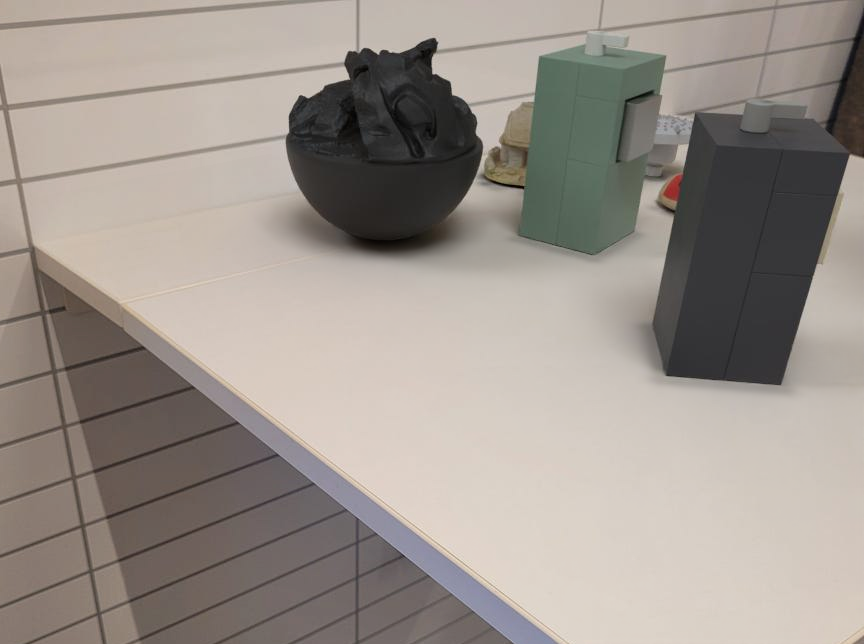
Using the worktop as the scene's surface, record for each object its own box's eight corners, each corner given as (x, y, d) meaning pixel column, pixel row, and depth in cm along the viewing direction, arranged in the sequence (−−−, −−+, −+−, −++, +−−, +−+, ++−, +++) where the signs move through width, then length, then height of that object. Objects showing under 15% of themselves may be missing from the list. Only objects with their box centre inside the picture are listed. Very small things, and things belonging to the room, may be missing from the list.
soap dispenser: (634, 230, 104) (670, 33, 93) (594, 255, 97) (627, 45, 86) (562, 213, 109) (588, 22, 97) (518, 235, 102) (541, 33, 91)
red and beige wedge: (680, 194, 116) (686, 165, 114) (746, 217, 109) (754, 186, 107) (642, 203, 112) (648, 173, 110) (709, 227, 106) (716, 196, 104)
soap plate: (652, 150, 97) (662, 94, 94) (627, 162, 93) (637, 104, 90) (640, 147, 98) (649, 92, 95) (614, 159, 94) (623, 102, 91)
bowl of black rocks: (328, 281, 90) (328, 69, 79) (263, 216, 105) (255, 31, 94) (510, 255, 97) (531, 58, 86) (424, 198, 112) (433, 24, 101)
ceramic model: (596, 173, 122) (609, 92, 117) (593, 199, 113) (606, 112, 108) (489, 163, 125) (496, 83, 119) (477, 188, 116) (484, 102, 110)
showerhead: (645, 127, 114) (614, 107, 122) (634, 187, 118) (605, 164, 126) (717, 126, 115) (682, 107, 123) (704, 185, 119) (671, 163, 127)
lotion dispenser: (755, 331, 83) (821, 91, 72) (781, 385, 75) (859, 122, 63) (651, 324, 84) (700, 84, 72) (666, 375, 75) (723, 114, 64)
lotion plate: (803, 237, 76) (822, 169, 73) (823, 264, 71) (844, 193, 68) (785, 236, 76) (804, 168, 73) (803, 263, 71) (824, 191, 68)
